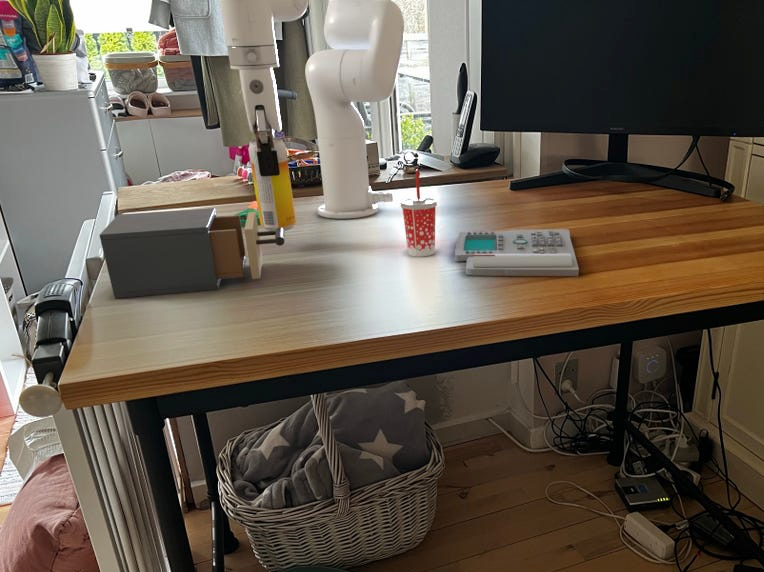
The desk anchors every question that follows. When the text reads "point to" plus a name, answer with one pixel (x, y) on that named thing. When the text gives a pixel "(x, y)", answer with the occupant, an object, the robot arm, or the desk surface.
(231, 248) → the drawer
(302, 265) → the desk surface
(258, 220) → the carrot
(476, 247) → the office telephone
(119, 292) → the cabinet
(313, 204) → the desk surface
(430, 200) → the beverage cup
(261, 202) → the beer can
